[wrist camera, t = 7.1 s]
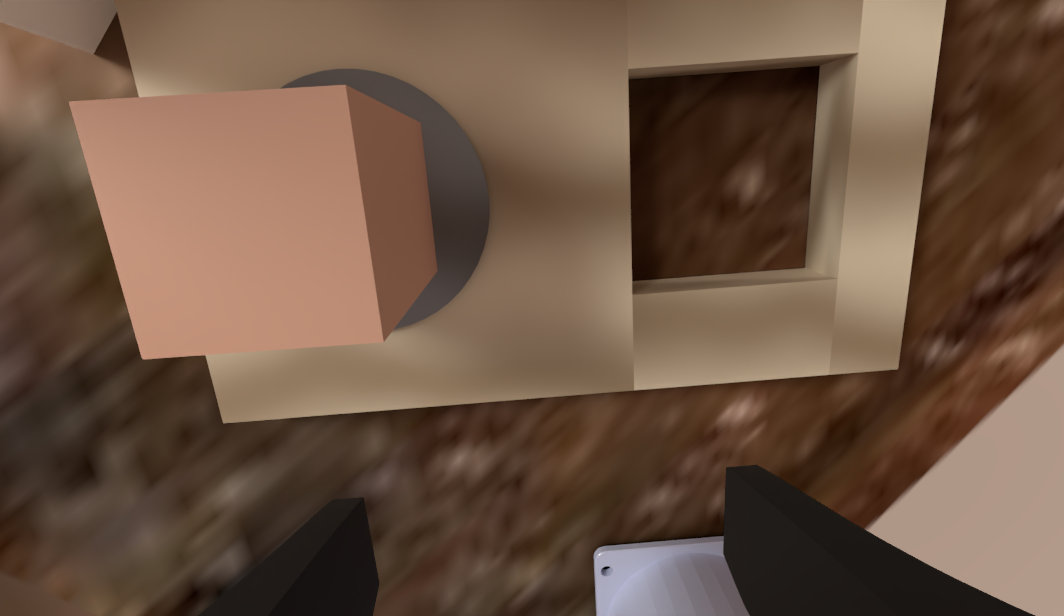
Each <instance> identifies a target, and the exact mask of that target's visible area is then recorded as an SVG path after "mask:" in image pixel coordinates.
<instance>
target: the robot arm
mask: <svg viewBox="0 0 1064 616" xmlns="http://www.w3.org/2000/svg"><path fill="white" fill-rule="evenodd" d="M606 566H609V567H610V568H609V569H602V568H603V567H606ZM594 574H595V596H596V616H1035V615H1032V614H1030V613H1028V612H1025V611H1023V610H1021V609H1019V608H1016V607H1014V606H1012V605H1010V604H1008V603H1006V602H1004V601H1001V600H999V599H997V598H995V597H993V596H991V595H989V594H987V593H984V592H982V591H980V590H978V589H976V588H974V587H972V586H970V585H968V584H966V583H963V582H961V581H959V580H957V579H955V578H953V577H951V576H949V575H947V574H945V573H943V572H941V571H939V570H937V569H935V568H933V567H931V566H929V565H928V564H925V563H924V562H922V561H920V560H918V559H916V558H915V557H913V556H911V555H909V554H907V553H906V552H904V551H902V550H900V549H898V548H896V547H894V546H893V545H891V544H889V543H887V542H885V541H883V540H882V539H880V538H878V537H876V536H875V535H873V534H871V533H870V532H868V531H866V530H864V529H863V528H861V527H859V526H858V525H856V524H854V523H852V522H851V521H849V520H847V519H846V518H844V517H842V516H841V515H839V514H837V513H836V512H834V511H832V510H831V509H829V508H828V507H826V506H824V505H823V504H821V503H819V502H818V501H816V500H815V499H813V498H811V497H810V496H808V495H806V494H805V493H803V492H802V491H800V490H798V489H797V488H795V487H793V486H792V485H790V484H789V483H787V482H785V481H784V480H782V479H780V478H779V477H777V476H775V475H774V474H772V473H770V472H769V471H767V470H765V469H763V468H761V467H759V466H758V465H751V466H738V467H726V486H725V514H724V536H717V537H706V538H694V539H682V540H670V541H658V542H647V543H635V544H623V545H611V546H603V547H600V548H598V549H597V550H596V551H595V553H594ZM378 587H379V579H378V573H377V568H376V562H375V557H374V551H373V546H372V541H371V535H370V530H369V524H368V519H367V513H366V508H365V503H364V497H363V498H351V499H338V500H332V501H331V502H330V503H328V504H327V505H326V506H325V507H323V508H322V509H321V510H320V511H319V512H318V513H317V514H315V515H314V516H313V517H312V518H311V519H310V520H309V521H308V522H306V523H305V524H304V525H303V526H302V527H301V528H300V529H299V530H298V531H296V532H295V533H294V534H293V535H292V536H291V537H290V538H289V539H288V540H286V541H285V542H284V543H283V544H282V545H281V546H280V547H279V548H277V549H276V550H275V551H274V552H273V553H272V554H271V555H270V556H268V557H267V558H266V559H265V560H264V561H263V562H262V563H261V564H259V565H258V566H257V567H256V568H255V569H254V570H253V571H252V572H250V573H249V574H248V575H247V576H246V577H245V578H243V579H242V580H241V581H240V582H239V583H237V584H236V585H235V586H234V587H232V588H231V589H230V590H229V591H228V592H226V593H225V594H224V595H223V596H222V597H220V598H219V599H218V600H217V601H215V602H214V603H213V604H212V605H211V606H209V607H208V608H207V609H206V610H205V611H203V612H202V613H201V614H200V615H198V616H373V611H374V606H375V602H376V597H377V592H378Z"/></svg>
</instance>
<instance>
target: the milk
mask: <svg viewBox="0 0 1064 616" xmlns="http://www.w3.org/2000/svg"><path fill="white" fill-rule="evenodd" d="M116 13H117V9H116V5H115V2H114V0H0V22H1V23H4V24H7V25H10V26H13V27H15V28H18V29H21V30H24V31H27V32H30V33H33V34H36V35H39V36H42V37H45V38H48V39H51V40H54V41H57V42H59V43H62V44H65V45H68V46H71V47H74V48H77V49H80V50H83V51H86V52H89V53H92V54H94V53H95V51H96V49H97V47H98V45H99V43H100V42H101V40H102V38H103V36H104V34H105V33H106V31H107V29H108V27H109V25H110V23H111V22H112V20H113V18H114V16H115V14H116Z"/></svg>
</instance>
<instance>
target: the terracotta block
mask: <svg viewBox="0 0 1064 616" xmlns="http://www.w3.org/2000/svg"><path fill="white" fill-rule="evenodd" d="M69 104H70V107H71V111H72V114H73V118H74V121H75V125H76V128H77V132H78V136H79V139H80V143H81V146H82V150H83V153H84V157H85V160H86V164H87V167H88V171H89V174H90V178H91V181H92V185H93V188H94V192H95V195H96V199H97V202H98V206H99V209H100V213H101V216H102V220H103V223H104V227H105V230H106V234H107V237H108V241H109V244H110V248H111V251H112V255H113V258H114V262H115V265H116V269H117V272H118V276H119V279H120V283H121V286H122V290H123V293H124V297H125V300H126V304H127V307H128V311H129V314H130V318H131V322H132V325H133V329H134V332H135V336H136V339H137V343H138V346H139V350H140V353H141V357H142V359H155V358H169V357H183V356H198V355H212V354H226V353H240V352H255V351H269V350H283V349H297V348H312V347H326V346H340V345H354V344H369V343H383V342H384V341H385V340H386V339H387V337H388V336H389V335H390V333H391V332H392V331H393V329H394V328H395V327H396V325H397V324H398V323H399V321H400V320H401V319H402V318H403V316H404V315H405V314H406V312H407V311H408V310H409V308H410V307H411V306H412V304H413V303H414V302H415V300H416V299H417V298H418V296H419V295H420V294H421V292H422V291H423V290H424V288H425V287H426V286H427V284H428V283H429V282H430V280H431V279H432V278H433V276H434V275H435V274H436V272H437V271H438V270H437V261H436V252H435V244H434V235H433V226H432V217H431V208H430V200H429V191H428V182H427V173H426V164H425V156H424V147H423V138H422V129H421V123H420V122H418V121H416V120H414V119H412V118H410V117H408V116H406V115H404V114H402V113H400V112H398V111H396V110H394V109H393V108H391V107H389V106H387V105H385V104H383V103H381V102H379V101H377V100H375V99H373V98H371V97H369V96H367V95H365V94H363V93H361V92H359V91H357V90H355V89H353V88H351V87H349V86H347V85H331V86H315V87H299V88H283V89H266V90H250V91H234V92H217V93H201V94H185V95H168V96H152V97H136V98H119V99H103V100H87V101H70V102H69Z"/></svg>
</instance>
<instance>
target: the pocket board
mask: <svg viewBox="0 0 1064 616" xmlns="http://www.w3.org/2000/svg"><path fill="white" fill-rule="evenodd" d="M114 2H115V5H116V9H117V13H118V17H119V21H120V25H121V29H122V33H123V36H124V40H125V44H126V48H127V52H128V56H129V60H130V64H131V67H132V71H133V75H134V79H135V83H136V87H137V91H138V95H139V97H152V96H168V95H185V94H201V93H217V92H234V91H250V90H266V89H283V88H299V87H315V86H331V85H347V86H349V87H351V88H353V89H355V90H357V91H359V92H361V93H363V94H365V95H367V96H369V97H371V98H373V99H375V100H377V101H379V102H381V103H383V104H385V105H387V106H389V107H391V108H393V109H394V110H396V111H398V112H400V113H402V114H404V115H406V116H408V117H410V118H412V119H414V120H416V121H418V122H420V123H421V129H422V138H423V147H424V156H425V164H426V173H427V182H428V191H429V200H430V208H431V217H432V226H433V235H434V244H435V252H436V261H437V270H438V271H437V272H436V274H435V275H434V276H433V278H432V279H431V280H430V282H429V283H428V284H427V286H426V287H425V288H424V290H423V291H422V292H421V294H420V295H419V296H418V298H417V299H416V300H415V302H414V303H413V304H412V306H411V307H410V308H409V310H408V311H407V312H406V314H405V315H404V316H403V318H402V319H401V320H400V321H399V323H398V324H397V325H396V327H395V328H394V329H393V331H392V332H391V333H390V335H389V336H388V337H387V339H386V340H385V341H384V342H383V343H369V344H354V345H340V346H326V347H312V348H297V349H283V350H269V351H255V352H240V353H226V354H212V355H206V358H207V362H208V366H209V370H210V374H211V378H212V382H213V386H214V389H215V393H216V397H217V401H218V405H219V409H220V413H221V417H222V420H223V423H233V422H246V421H258V420H271V419H283V418H296V417H308V416H321V415H333V414H346V413H358V412H371V411H383V410H396V409H408V408H421V407H433V406H446V405H458V404H471V403H483V402H496V401H508V400H521V399H533V398H546V397H558V396H571V395H583V394H596V393H608V392H621V391H633V390H646V389H658V388H671V387H683V386H696V385H708V384H721V383H733V382H746V381H758V380H771V379H783V378H796V377H808V376H821V375H833V374H846V373H858V372H871V371H883V370H896V369H898V366H899V358H900V350H901V343H902V335H903V327H904V320H905V312H906V305H907V297H908V289H909V282H910V274H911V266H912V259H913V251H914V243H915V236H916V228H917V220H918V213H919V205H920V197H921V190H922V182H923V174H924V167H925V159H926V151H927V144H928V136H929V128H930V121H931V113H932V106H933V98H934V90H935V83H936V75H937V67H938V60H939V52H940V44H941V37H942V29H943V21H944V14H945V6H946V0H114ZM810 66H820V72H819V85H818V99H817V112H816V126H815V139H814V153H813V166H812V180H811V193H810V207H809V221H808V234H807V248H806V261H805V268H799V269H786V270H773V271H760V272H747V273H734V274H721V275H708V276H695V277H682V278H669V279H656V280H643V281H632V248H631V194H630V140H629V85H628V79H641V78H655V77H669V76H683V75H697V74H712V73H726V72H740V71H754V70H768V69H782V68H796V67H810Z"/></svg>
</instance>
